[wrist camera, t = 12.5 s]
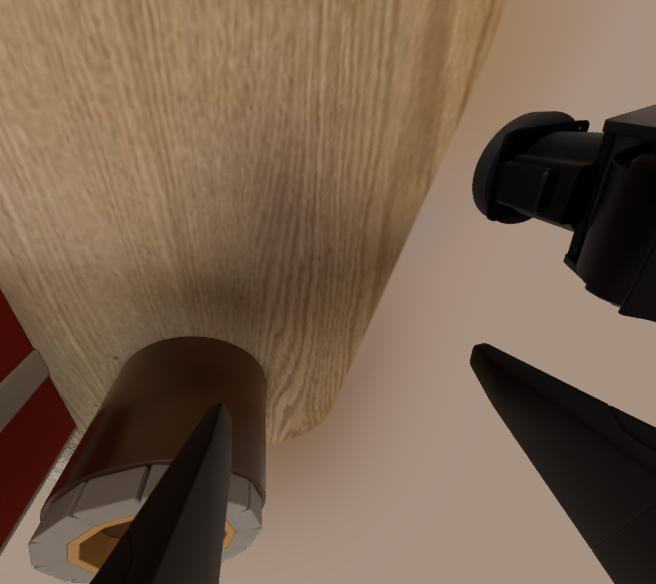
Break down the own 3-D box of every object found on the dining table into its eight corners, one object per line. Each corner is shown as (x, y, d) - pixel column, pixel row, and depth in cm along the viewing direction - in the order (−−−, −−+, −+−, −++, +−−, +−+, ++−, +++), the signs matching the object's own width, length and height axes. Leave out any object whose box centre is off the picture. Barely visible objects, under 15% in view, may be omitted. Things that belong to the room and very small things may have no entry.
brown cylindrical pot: (247, 323, 22) (237, 437, 14) (277, 411, 28) (281, 523, 21) (87, 355, 21) (-23, 500, 13) (157, 439, 27) (113, 570, 19)
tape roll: (231, 443, 14) (228, 474, 13) (275, 522, 20) (275, 548, 19) (-7, 501, 13) (-37, 542, 12) (116, 566, 19) (105, 597, 18)
